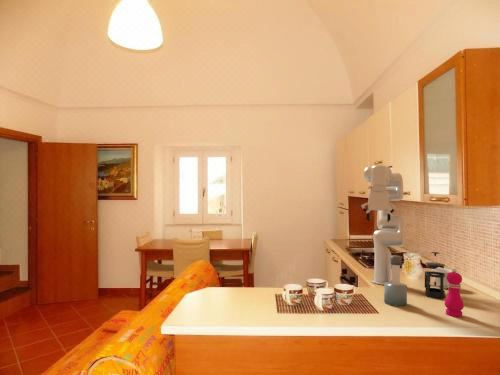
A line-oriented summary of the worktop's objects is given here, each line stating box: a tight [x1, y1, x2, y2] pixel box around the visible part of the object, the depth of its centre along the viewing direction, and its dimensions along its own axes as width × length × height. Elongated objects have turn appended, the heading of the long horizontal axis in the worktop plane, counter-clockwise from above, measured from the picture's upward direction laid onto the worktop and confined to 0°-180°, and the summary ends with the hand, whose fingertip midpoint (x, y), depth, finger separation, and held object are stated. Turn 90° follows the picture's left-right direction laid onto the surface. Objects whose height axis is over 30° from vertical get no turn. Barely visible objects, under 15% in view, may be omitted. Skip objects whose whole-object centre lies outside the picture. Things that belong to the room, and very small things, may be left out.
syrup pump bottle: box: [383, 264, 408, 307], centre depth 165 cm, size 10×10×18 cm
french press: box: [424, 251, 446, 300], centre depth 180 cm, size 12×9×23 cm
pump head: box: [390, 254, 402, 266], centre depth 167 cm, size 8×5×12 cm, turn 157°
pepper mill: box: [444, 268, 465, 318], centre depth 150 cm, size 7×7×20 cm
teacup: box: [430, 267, 452, 290], centre depth 200 cm, size 12×15×10 cm
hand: (378, 221), depth 180 cm, fingers open, 9 cm apart
